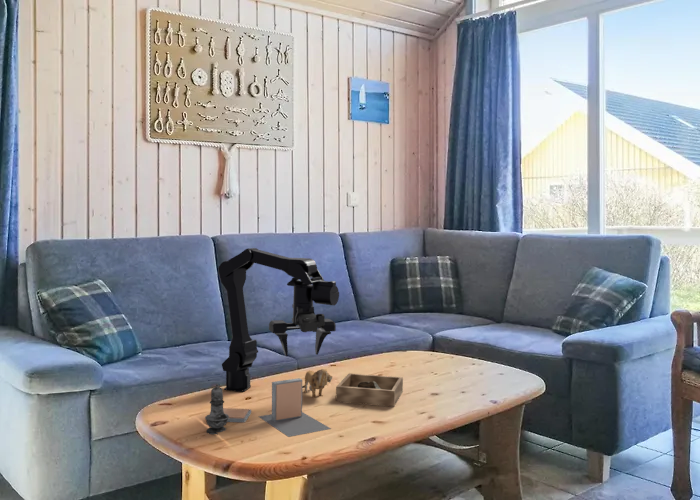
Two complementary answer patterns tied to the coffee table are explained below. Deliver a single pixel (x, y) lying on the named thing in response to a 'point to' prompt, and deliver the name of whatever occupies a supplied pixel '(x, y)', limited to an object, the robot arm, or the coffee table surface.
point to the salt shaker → (216, 412)
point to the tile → (286, 399)
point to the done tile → (237, 414)
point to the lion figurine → (316, 381)
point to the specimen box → (370, 390)
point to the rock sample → (369, 385)
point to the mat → (296, 425)
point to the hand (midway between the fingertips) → (301, 355)
